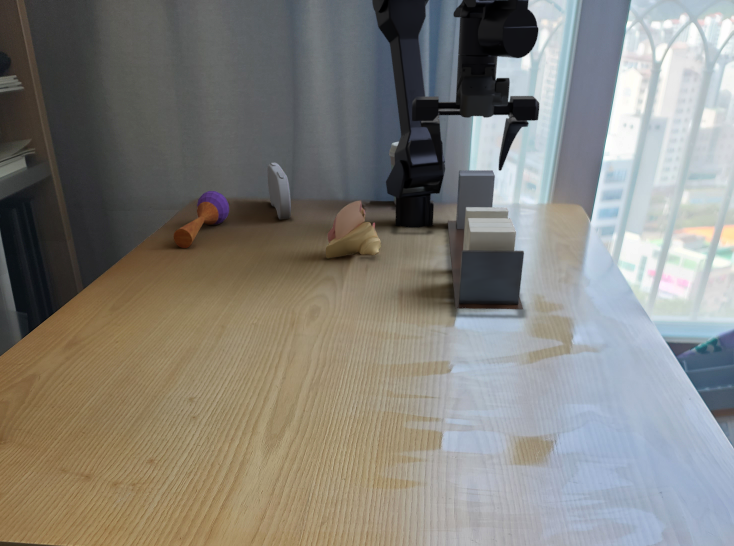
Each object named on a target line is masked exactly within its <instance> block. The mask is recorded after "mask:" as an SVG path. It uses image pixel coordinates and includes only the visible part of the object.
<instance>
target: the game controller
mask: <svg viewBox="0 0 734 546" xmlns="http://www.w3.org/2000/svg"><path fill="white" fill-rule="evenodd" d="M289 183H290V182H289V179H288V176H287V174H286V173H285V171H284V170H283V169H282V167H281V166H280V165H279V163H277V162H270V163H269V164H267V187H268V195H269V202H270V205H271V206H272V207H274V208H275V210H276V213H277V217H278V219H279V220H289V219H290V218H291V215H292V203H291V202H292V201H291V200H292V199H291V191H290V184H289Z"/></svg>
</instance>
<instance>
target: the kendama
mask: <svg viewBox="0 0 734 546" xmlns="http://www.w3.org/2000/svg"><path fill="white" fill-rule="evenodd" d="M229 213H230V205H229V201H228V200H227V198H226V197H225V196H224V195H223V193H220V192H218V191H216V190H208V191H205V192H204V193H202V194H201V195H200V196H199V198H198V199H197V203H196V214H197V215H196V216H197V218H195V219H194V220H192V221H190V222H188V223H187V224H184V225H183V226H180V227H179V228H178V229H176V230H175V231H174V232H173V236H172V237H173V241H174V243H175V245H177V246H178V247H179V248H181V249H187V248H189V247H190V246H191V245H192V244H193V242H194V240H195V238H196V237H197V235H198V233H199V231H200V230H201V228H202V226H203V224H205V225H211V226H212V225H216V226H217V225H220V224H222V223H224V221H225V220H226V219H227V217H228V216H229V215H230V214H229Z"/></svg>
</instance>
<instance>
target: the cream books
mask: <svg viewBox="0 0 734 546" xmlns="http://www.w3.org/2000/svg"><path fill="white" fill-rule="evenodd" d="M516 239H517V230H516V227H515V225H514V223H513V220H512V218H509V217H508V218H468V221H467V236H466V250H497V251H516V250H515V248H516Z"/></svg>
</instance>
